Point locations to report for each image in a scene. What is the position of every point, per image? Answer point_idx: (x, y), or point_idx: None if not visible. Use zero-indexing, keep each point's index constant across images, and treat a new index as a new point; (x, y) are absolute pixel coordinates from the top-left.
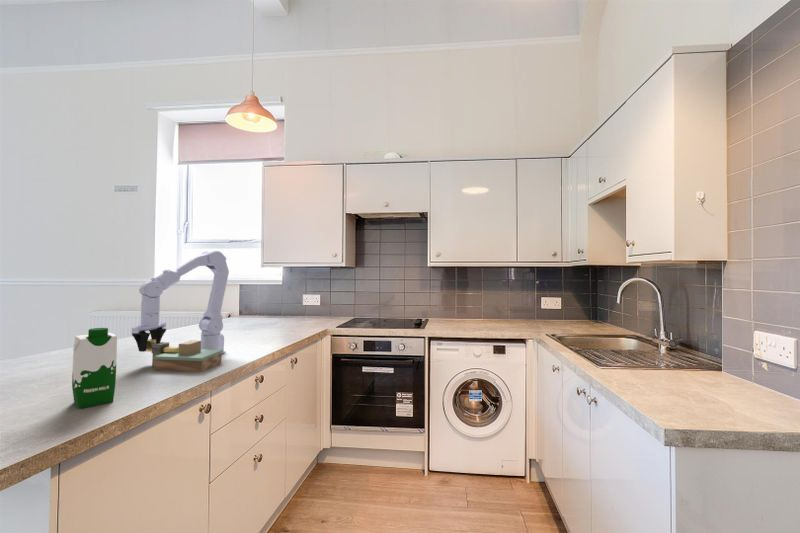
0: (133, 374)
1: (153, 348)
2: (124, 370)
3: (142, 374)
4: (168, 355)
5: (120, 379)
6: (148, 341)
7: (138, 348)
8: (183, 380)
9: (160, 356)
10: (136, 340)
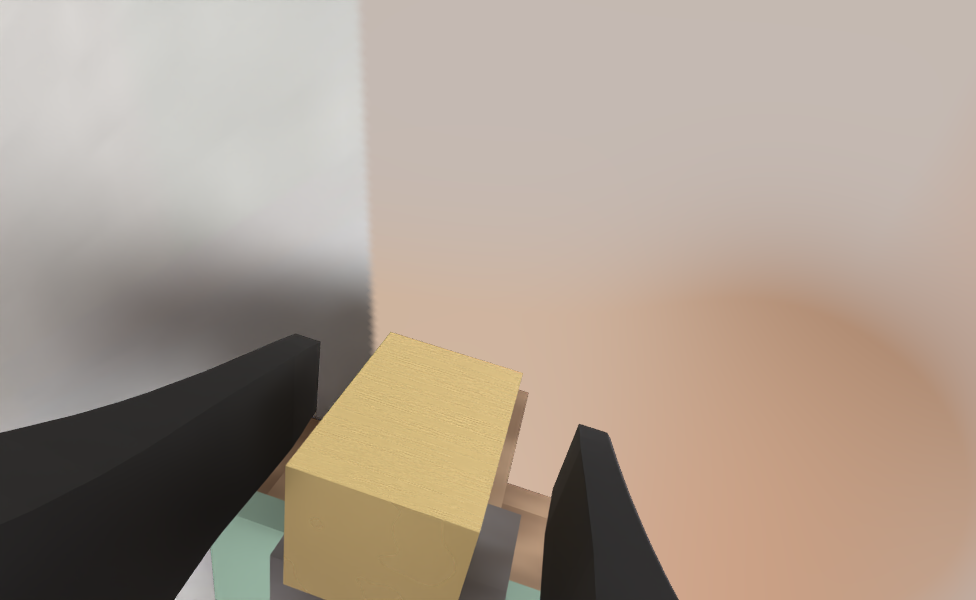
0: (170, 308)
1: None
2: (262, 165)
3: (185, 369)
4: (263, 597)
5: (45, 274)
6: (291, 548)
7: (255, 352)
8: None
9: (214, 552)
10: (72, 435)
